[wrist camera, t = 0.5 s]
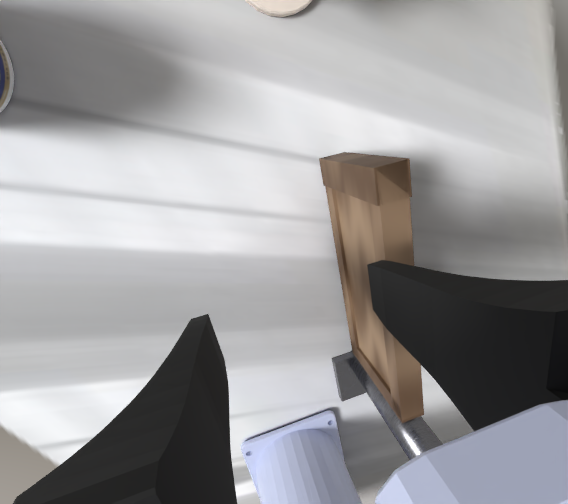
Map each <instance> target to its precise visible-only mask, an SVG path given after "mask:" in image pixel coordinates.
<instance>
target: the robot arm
mask: <svg viewBox="0 0 568 504" xmlns="http://www.w3.org/2000/svg"><path fill="white" fill-rule="evenodd" d="M367 268H368V275H369V283H370V291H371V299H372V307H373V311H374V312H375V313H376V315H377V316H378V318H379V319H380V321H381V322H382V323H383V325H384V326H385V327H386V329H387V330H388V331H389V332H390V333H391V334H392V335H393V336H394V337H395V338H396V339H397V340H398V341H399V343H400V344H401V345H402V346H403V347H404V348H405V349H406V350H407V351H408V352H409V353H410V354H411V355H412V356H413V357H414V358H415V359H416V360H417V361H418V362H419V363H420V364H421V365H422V366H423V367H424V368H425V369H426V370H427V371H428V372H429V374H430V375H431V376H432V377H433V378H434V379H435V380H436V382H437V383H438V384H439V385H440V387H441V388H442V389H443V390H444V392H445V393H446V394H447V396H448V397H449V398H450V399H451V401H452V402H453V403H454V404H455V406H456V407H457V408H458V410H459V411H460V412H461V414H462V415H463V417H464V418H465V419H466V421H467V422H468V423H469V425H470V426H471V427H472V429H473V430H474V432H472V433H469V434H467V435H465V436H462V437H460V438H457V439H455V440H452V441H450V442H448V443H445V444H443V445H440V446H438V447H435V448H433V449H431V450H428V451H426V452H423V453H421V454H419V455H418V456H416V457H415V458H413V459H411V460H410V461H408V462H407V463H405V464H403V465H402V466H400V467H399V468H397V469H396V470H395V471H394V472H393V473H392V475H391V476H390V477H389V478H388V480H387V481H386V482H385V483H384V485H383V486H382V487H381V488H380V490H379V491H378V494H377V497H376V501H375V504H568V280H560V281H522V280H500V279H488V278H479V277H470V276H463V275H457V274H451V273H445V272H440V271H434V270H430V269H425V268H420V267H416V266H411V265H407V264H402V263H398V262H393V261H386V260H380V261H377V262H374V263H371V264H367ZM241 451H242V454H243V457H244V459H245V462H246V464H247V467H248V469H249V472H250V475H251V477H252V480H253V482H254V485H255V488H256V490H257V493H258V495H259V498H260V502H261V504H362V502H361V500H360V498H359V495H358V493H357V491H356V488H355V486H354V484H353V481H352V479H351V477H350V475H349V472H348V470H347V468H346V465H345V460H344V456H343V451H342V446H341V441H340V436H339V432H338V427H337V422H336V417H335V414H334V412H333V411H331V410H328V411H325V412H322V413H320V414H317V415H314V416H312V417H309V418H306V419H304V420H301V421H298V422H296V423H293V424H290V425H288V426H285V427H282V428H280V429H277V430H274V431H271V432H269V433H266V434H263V435H261V436H258V437H255V438H253V439H250V440H247V441H245V442H243V443H242V445H241ZM248 451H249V452H248ZM13 504H237V499H236V492H235V485H234V477H233V469H232V461H231V450H230V426H229V392H228V379H227V373H226V367H225V361H224V357H223V354H222V351H221V349H220V346H219V343H218V340H217V337H216V335H215V332H214V329H213V326H212V324H211V321H210V318H209V315H208V314H206V315H203V316H200V317H197V318H193V319H191V320H190V322H189V323H188V325H187V327H186V328H185V330H184V331H183V333H182V335H181V336H180V338H179V340H178V341H177V343H176V345H175V346H174V348H173V349H172V351H171V352H170V354H169V355H168V357H167V358H166V359H165V361H164V362H163V364H162V365H161V366H160V368H159V369H158V370H157V372H156V373H155V375H154V376H153V377H152V378H151V380H150V381H149V382H148V383H147V385H146V386H145V387H144V388H143V389H142V390H141V391H140V393H139V394H138V395H137V396H136V397H135V398H134V399H133V400H132V401H131V403H130V404H129V405H128V406H127V407H126V408H124V409H123V410H122V411H121V412H120V413H119V414H118V415H117V416H116V417H115V418H114V419H113V420H112V421H111V422H110V423H109V424H108V425H107V426H106V427H105V428H104V429H103V430H102V431H101V432H100V433H98V434H97V435H96V436H95V437H94V438H93V439H92V440H90V441H89V442H88V443H87V444H86V445H84V446H83V447H82V448H81V449H80V450H78V451H77V452H76V453H75V454H74V455H72V456H71V457H70V458H69V459H67V460H66V461H65V462H64V463H62V464H61V465H60V466H58V467H57V468H56V469H54V470H53V471H52V472H50V473H49V474H48V475H46V476H45V477H44V478H42V479H41V480H40V481H38V482H37V483H36V484H34V485H33V486H32V487H30V488H29V489H28V490H26V491H25V492H23V493H22V494H20V495H19V496H18V497H17V498H16V499H15V501H14V503H13Z"/></svg>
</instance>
